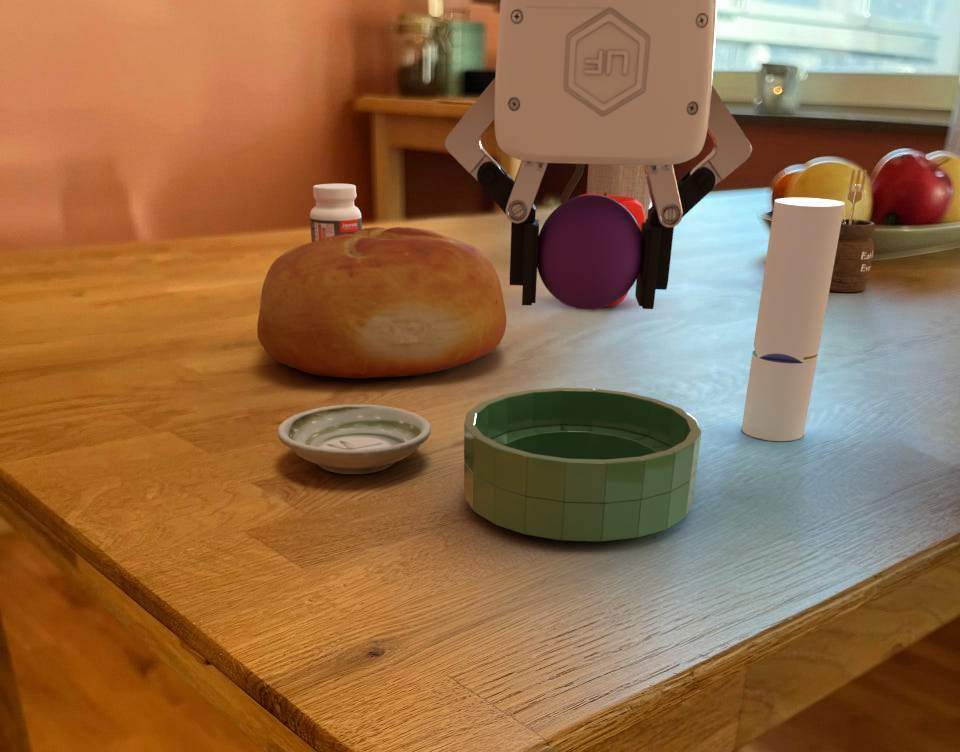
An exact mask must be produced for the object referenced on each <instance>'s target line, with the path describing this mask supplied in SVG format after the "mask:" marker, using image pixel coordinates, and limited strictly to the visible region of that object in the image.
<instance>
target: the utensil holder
mask: <svg viewBox="0 0 960 752" xmlns="http://www.w3.org/2000/svg"><path fill="white" fill-rule="evenodd" d="M861 172H862V170H861V169H858V170H857V175H856V180H855V173H856V170H855V169H852V170H851V175H850V181H849V185H848V187H847V188H846V190H845V191H844V193H843V195H842V200H841V202H843V203H845V205H844V210H843V218H842V222H841V227H840V233H839V239H838V244H837V250H836V256H835V261H834V267H833V273H832V278H831V284H830V290H829V292H831V293H832V292H834V293H858V292H862V291H864V290H865V289H866V288H867V285H868V281H869V277H870V274H871V273H870V272H871V269H872V268H871V267H872V262H873V257H874V250H875V245H874V244H875V243H874V241H873V240H872V239H871V237H873V236H874V234H875V223H874V222H873V221H869V220H864V219H861V216H862V214H863V212H864V210H865V207H862V204H864V205H863V206H865V205H866V202H864V203H863V197H864V193H865V197H864V200H866V199H867V192H866V189H865V183H866V177H867V173H868V171H867V169H864V170H863V173H862V179H861V184H860V178H861ZM854 180H855V183H854ZM853 188H854V190H853ZM859 188H860V190H859ZM845 195H846V196H845ZM844 198H845V201H844ZM847 200H848V201H849V202H850V203H851V208H850V214H849V218H846V204H847ZM858 202H860V206H859V209H858V211H857V215H856V217H855V219H854V213H855V207H856V204H857V203H858ZM861 209H862V212H861ZM859 215H860V216H859Z"/></svg>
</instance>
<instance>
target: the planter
mask: <svg viewBox="0 0 960 752" xmlns="http://www.w3.org/2000/svg"><path fill="white" fill-rule="evenodd" d="M587 165H588V166H587V183H586V194H602V195H604V193H607V195H611V196H621V197H631V198H634V199H636V200H637V201H638V202H640V203H641V205H642V206H643V209H644V213H645V217H646V219H647V218H648V209H649V208H650V207H652V203H651V198H650V194H649V190H648V185H647V181H646V176H645V172H644V167H643V165H608V164H587ZM646 219H645V222H646Z"/></svg>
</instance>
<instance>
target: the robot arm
mask: <svg viewBox="0 0 960 752" xmlns="http://www.w3.org/2000/svg"><path fill="white" fill-rule="evenodd" d="M499 3H500V4H499V16H498V28H497V29H498V31H497V45H496V59H495V60H496V62H495V77H494V78H493V79H492V80H491V82H490V83H489V84H488V85H487V86H486V87H485V89H484V90H483V92H482V93H481V94H480V95H479V97H478V98H477V99H476V100H475V101H474V103H473V104H472V105H471V107H470V108H469V109H468V110H467V111H466V112H465V114H464V115H463V116H462V117H461V118H460V120H459V121H458V122H457V124H456V125H455V126H454V127H453V128H452V130H451V131H450V132H449V134H448V135H447V136H446V138H445V140H444V146H445V149H446V151H447V153H449V154H450V156H452V157H453V158H454V160H456V161H457V162H458V164H459V165H461V167H463V169H465V171H466V172H467V173H468V174H469V175H471V176H472V177H473V178H474V180H475V181H477V183H478V184H479V185H480V186H481V188H482V189H483V190H484V191H485V192H486V193H487V194H488V196H489V197H490V198H491V199H492V200H493V202H494V203H496V205H497V206H498V207H499V209H500V210H501V211H503V213H504V214H505V215H506V217H507V219H508V220H509V221H510V223H511V224H510V225H511V226H510V227H511V228H510V251H509V252H510V254H509V255H510V256H509V286H522V295H521V306H533V305H532V304H536V301H537V281H538V280H537V279H538V268H537V259H538V238H539V234H540V219H536V212H537V206H536V204H534V203H535V201H536V197H537V194H538V192H539V190H540V187H541V183H542V181H543V178H544V175H545V172H546V170H547V167H548V164H571V165H573V164H574V165H576V164H577V165H588V164H608V165H643V167H644V172H645V176H646V181H647V185H648V190H649V194H650V198H651V203H652V207H650V208H649V209H648V218H647V219H646V222H642V226H641V233H642V237H643V260H642V266H641V270H640V273H639V275H638V277H637V279H636V281H635V299H636V301H637V304H638V306H639V307H641V308H642V310H653V309H654V307H655V297H656V290H659V291H660V290H661V291H662V290H663V291H666V290H667V289H668V284H669V277H670V269H671V268H670V267H671V259H672V258H671V257H672V248H673V239H674V238H673V237H674V231H675V230H674V229H675V227H676V226H678V225H679V224H680V223H681V221H682V220H683V218H684V217H685V216H686V215H687V214H688V213H689V212H690V211H691V210H692V209H693V208H695V206H696V205H698V203H700V202H701V201H702V200H703V199H704V198H705V197H706V196H707V195H708V194H709V193H710V192H712V190H714V187H715V186H717V185H718V184H719V183H720V182H721V181H723V180H725V179H726V178H728V176H729V175H731V174H732V173H733V172H734V171H735V170H737V169H738V168H739V167H741V165H743V164H744V163H745V162H747V160H748V159H749V158H750V157H751V156H752V153H753V147H752V144H751V142H750V141H749V139H748V138H747V136H746V134H745V133H744V131H743V130H742V129H741V127H740V125H739V124H738V122H737V121H736V119H735V118H734V116H733V114H732V113H731V112H730V109H729V108H728V107H727V105H726V103H724V101H723V99H722V98H721V96H720V95H719V93H718V92H717V90H716V88H715V87H714V86H713V75H714V64H715V63H714V62H715V49H716V34H717V33H716V32H717V14H718V12H717V11H718V0H500V2H499ZM492 123H494V136H495V140H496V142H497V146H498V148H499V149H500V150H501V152H504V153H505V154H506V155H507V156H509V157H511V158H514V159H516V160H520V164H519V166H518V170H517V173H516V175H515V177H514V179H513V178H512V177H511V176H510V174H508V173H507V172H506V170H505V169H504V168H503V166H502V165H501V164H500V163H499V162H498V161H497V160H495V159H494V158H493V156H491V155H490V153H488V152H487V150H486V149H485V148H484V147H483V146H482V142H481V139H482V136H483V134H484V133H485V131H486V130H487V129H488V128H489V127H490V126H491V125H492ZM707 133H708V134H709V137H710V138H711V140H712V142H713V147H712V149H711V151H710V152H709V153H708V154H707V156H705V157H704V159H703V160H701V161H700V162H699V163H698V164H696V165H694V166H693V167H691V168H690V169H689V170H688V171H687V172H686V173H685V174H684V175H683V176H682V177H681V178H680V179H678V181H677V179H676V174H675V168H674V165H679V164H682V163H686V162H688V161H690V160H693V159H694V158H696V157H697V156H698V155H699V154H701V152H702V151H703V148H704V146H705V143H706V139H707V135H708V134H707Z"/></svg>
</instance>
